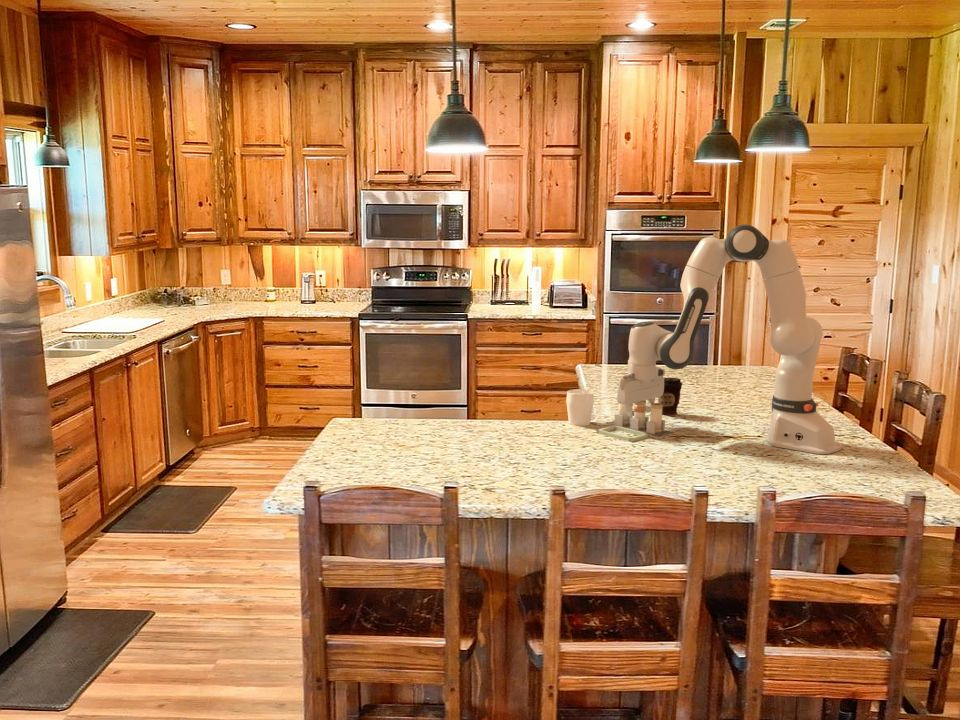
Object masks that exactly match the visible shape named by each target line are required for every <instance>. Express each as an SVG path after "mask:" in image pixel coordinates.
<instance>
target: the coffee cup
mask: <svg viewBox="0 0 960 720" xmlns="http://www.w3.org/2000/svg"><path fill="white" fill-rule="evenodd" d="M681 381H682V380H681V379H680V378H678V377H664V392H663V395H662V396H661V397H657V398H658V399H657V400H658V401H657V403H660V404H663V408H662V416H666V417H676V416H678V406H679V404H680V399H681V390H682V386H683V383H682V382H681Z"/></svg>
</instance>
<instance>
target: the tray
mask: <svg viewBox="0 0 960 720" xmlns="http://www.w3.org/2000/svg"><path fill="white" fill-rule="evenodd" d="M614 430H616V431H619V432H625V433H628V434H632V435H635V436H632V437H630V436H626V435H622V434H618V433H614V432H611V431H614ZM596 434H598V435H602V436H607V437H610V438H614V439H618V440H622V441H626V442H630V443H633V442H637V441H641V440H643V439H646V438H650V434H649V433H645V432H641V431H636V430H632V429H628V428H624V427H620V426H616V425H609V426H606V427H602V428H599V429H596Z"/></svg>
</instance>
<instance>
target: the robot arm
mask: <svg viewBox="0 0 960 720" xmlns="http://www.w3.org/2000/svg"><path fill="white" fill-rule="evenodd" d="M751 261H753V262H755V263H756V264H757V265H758V268H759V270H760V273H761V276H762V281H763V286H764V289H765V293H766V296H767V301H768V307H769V317H770V319H769V320H770V330H771V331H770V338H769V339H770V345H771V348H772V349H773V351H775V353H777V354H779V355H780V358H779V362H778V364H777V368H776V370H775V379H774V390H773V391H774V392H773V395H772V400H771V412H772V413H771V420H770V422H769V428H768V431H767V433H766V437H765V441H767V442H769V443H770V445H771V446H772V447H776V448H782V449H787V450H793V451H794V450H795V451H799V452H805V453H812V454H816V455H828V454H833V453H836V452H839V451H840V450H843V444H842V443H841V442H839V441H836V436H835V435H836V433H835V430H834V427H833V425H831V424H830V423H829V422H828V421H827V420H826V419H825V418H824V417H823V416H821V415H820V413H818V412H817V407H819V406H820V402H815V401H814V399H813V398H812V397H813V387H814V386H813V385H814V375H815V374H814V373H815V368H816V364H817V360H818V356H819V351H820V346H821V340H822V338H823V333H824V332H823V326H822V325H821V323H820V322H819V321H818V320H816V319H815V318H813V317H810V316H807V308H806V307H807V306H806V304H807V303H806V300H807V293H806V288H805V285H804V281H803V277H802V273H801V270H800V267H799V263H798V260H797V257H796V255H795V253H794V250H793V248H792V246H791V244H790V243H789V242H788V241H787V240H784V239H772V240H769V239H768V238H767V237H766V236H765V234H763V233H762V232H761V231H760V230H759V229H758V228H756V227H755V226H754V225H751V224H739V225H737V226H734V227H733V228H732V229H731V230H730V231H729V232H728V234H727V236H726V237H725V238H722V239H720V238H718V237H717V238H716V237H714V236H708V237H706V236H705V237H704V238H702V239H700V241H699V242H698V244H697V245H696V246H695V248H694V249H693V251H692V253H691V254H690V257H689V259H688V260H687V262H686V265H685V267H684V270H683V272H682V276H681V278H680V279H681V280H680V285H679V286H680V290H681V294H682V296H683V307H682V311H681V314H680V316H679V319H678V322H677V324H676V327H675V329H674V332H673V331H670V330H667V329H665V328H663V327H661V326H659V325H657V324H656V322H653V321H642V322H638V323H637V322H636V323H635V324H634V325H632V326H631V328H630V330H629V331H630V332H629V336H628V353H629V357H628V360H627V375H623V376H622V378H621V379H620V381H619V383H618V388H617V395H616V401H617V404H618V405H619V404H623V405H625V407H626V409H627V416H629V417H632V416H633V417H634V409H633V407H634V403H636V402H640V401H647V403H646V412H647V413H651V403H656V399H657V398H658V397H661V396H662V395H663V392H664V378H665V377H664V376H665V374H666V369H664V368H661V367H658V366H657V365H656V364H657V361H661V362H662V363H663V365H664V366H666V367H667V368H668V369H671V370H681V369H684V368H687V366H689V365H690V363H691V362H692V361H693V358H694V353H695V348H694V345H695V343H694V342H695V339H696V335H697V332H698V330H699V328H700V325H701V322H702V319H703V316H704V314H705V310H706V308H707V306H708V304H709V301H710V299H711V297H712V295H713V293H714V290H715V289H716V287H717V285H718V282H719V280H720V278H721V275H722V273H723V272H724V269H725V268H726V266H727V264H728V263H729V262H730V263H740V264H741V263H748V262H751ZM646 412H645V413H646Z"/></svg>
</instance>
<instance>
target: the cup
mask: <svg viewBox="0 0 960 720" xmlns="http://www.w3.org/2000/svg"><path fill="white" fill-rule="evenodd" d="M594 402H595V399H594V391H593V390H588V389H585V388H584V389H583V388H582V389H581V388H580V389H579V388H576V389H569V390H567V391H566V400H565V403H566V408H567V417H568V424H569V425H572V426H580V427H582V426H589V425H591V419H592V413H593V408H594Z"/></svg>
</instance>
